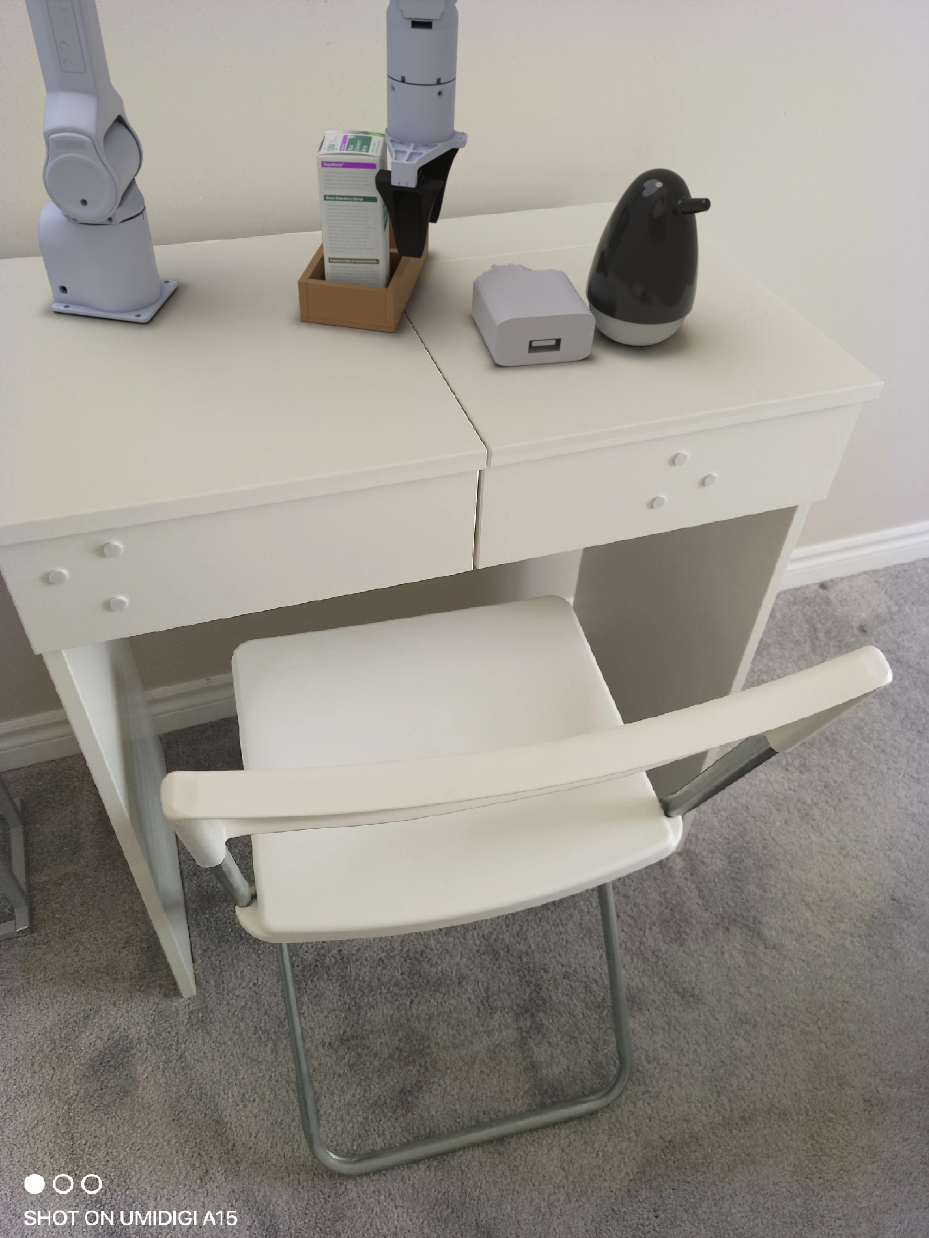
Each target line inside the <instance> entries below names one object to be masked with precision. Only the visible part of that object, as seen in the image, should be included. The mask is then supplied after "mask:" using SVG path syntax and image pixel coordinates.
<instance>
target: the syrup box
mask: <svg viewBox="0 0 929 1238" xmlns="http://www.w3.org/2000/svg"><path fill="white" fill-rule="evenodd" d="M315 158H316V168H317V181H318V199H319V211H320V214H319V215H320V225H321V226H320V227H321V238H322V239H321V240H322V242H323V254H324V267H325V281H332V282H340V283H348V284H356V285H364V286H373V287H381V288H388V286H389V284H390V248H389V214H388V211H387V208H386V206H385V203H384V201H383V199H382V197H381V196H380V194H379V192H378V191H377V189H376V185H375V176H376V174H377V172H378V171H379V169H383V170H388V147H387V144H386V142H385V133H381V132H376V131H368V130H351V129H349V130H348V129H346V130H344V129H343V130H325V131H324V134H323V138H322V140H321V142H320V144H319V146H318V150H317V152H316V156H315Z"/></svg>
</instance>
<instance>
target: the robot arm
mask: <svg viewBox="0 0 929 1238" xmlns="http://www.w3.org/2000/svg"><path fill="white" fill-rule="evenodd" d="M24 3H25V6H26V11H27V16H28V19H29V24H30V29H31V33H32V36H33V42H34V45H35V50H36V53H37V57H38V62H39V66H40V70H41V74H42V78H43V79H42V80H43V83H44V87H45V92H46V97H45V105H44V112H43V113H44V114H43V122H42V136H43V140H44V142H45V159H44V162H43V165H42V175H41V176H42V182H43V183H42V184H43V186H44V189H45V191H46V194H47V195H48V197H49V199H50V200H48V201H46V203H45V204H44V205H43V207H42V208H41V210H40V211H39V215H38V221H37V241H38V245H39V250H40V253H41V256H42V259H43V264H44V268H45V271H46V275H47V279H48V282H49V287H50V289H51V293H52V297H53V301H54V302H52V304H51V306H50V307H51V310H52V311H53V312H57V313H65V314H74V315H81V316H87V317H88V316H89V317H96V318H104V319H105V318H106V319H112V320H120V321H128V322H134V323H135V322H137V323H143V324H145V323H148V322H149V321H151V319H152V318H153V317H154V315H156V313H157V312H158V310H159V309H160V308H161V307H162V306H163V304H164V303H165V302H166V301H167V300H168V299H169V297H170V296H171V295H172V294H173V292H174V291H175V290H176V288H177V287H178V282H177V281H176V280H172V279H166V278H165V279H164V278H160V277H159V271H158V266H157V260H156V254H155V250H154V249H155V248H154V244H153V239H152V234H151V233H152V232H151V228H150V223H149V218H148V212H147V207H146V201H145V197H144V195H143V193H142V192H141V190H140V188H139V187H138V184H137V179H136V177H137V176H138V175H139V173H140V171H141V170H142V167H143V164H144V163H143V162H144V149H143V146H142V142H141V140H140V137H139V136H138V134H137V132H136V131H135V129H134V128H133V127H132V125H131V123H130V122H129V120H128V117H127V114H126V110H125V106H124V105H125V104H124V100H123V98H122V96H121V95H120V93H119V92H118V91H117V90H116V88H115V87H114V85H113V84H112V81H111V76H110V71H109V65H108V60H107V56H106V51H105V46H104V45H105V44H104V39H103V35H102V29H101V25H100V19H99V13H98V8H97V3H96V0H24ZM457 3H458V0H389V4H388V6H387V8H386V12H385V14H386V16H385V17H386V20H385V21H386V25H385V26H386V27H385V28H386V29H385V30H386V32H385V33H386V127H385V128H384V134H385V142H386V144H387V151H388V153H389V155H390V158H391V160H390V169H387V170H383V169H379V171H378V172H377V174H376V176H375V185H376V189H377V191H378V192H379V194H380V196H381V197H382V199H383V201H384V203H385V206H386V208H387V211H388V214H389V217H390V220H391V224H392V229H393V233H394V238H395V243H396V247H397V251H398V254H399V256H404V257H413V258H421V257H422V254H423V251H424V248H425V244H426V239H427V233H428V226H429V227H430V224H437V223H438V220H439V218H440V215H441V211H442V207H443V203H444V202H443V201H444V196H445V192H446V187H447V184H448V183H447V182H448V178H449V176H450V175H449V174H450V171H451V168H452V166H453V163H454V160H455V158H456V157H457V154H458V152H459V151H460V149H464V148H465V147H467V144H468V137H469V135H468V133H466V132H464V131H457V130H456V129H455V114H456V113H455V112H456V89H457V87H456V85H457V84H456V82H457V64H458V43H459V42H458V40H459V39H458V38H459V15H460V14H459V10H458V8H457V6H456V4H457Z"/></svg>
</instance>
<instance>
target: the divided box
mask: <svg viewBox="0 0 929 1238" xmlns="http://www.w3.org/2000/svg"><path fill="white" fill-rule="evenodd" d="M429 236H430V225H429V226H428V233H427V239H426V244H425V248H424V251H423V254H422V257H421V258H413V257H404V256H399V254H398V251H397V247H396V243H395V238H394V233H393V229H392V224H391V220H390V217H389V248H390V284H389V286H388V288H381V287H373V286H364V285H356V284H348V283H340V282H332V281H325V267H324V254H323V241H322V242H321V244H320V245H319V247H318V248H317V250H316V252H315V253H314V255H313V256H312V258H311V259H310V261H309V263H308V264H307V265H306V268H305V269H304V270H303V272H302V274H301V276H300V277H299V279H298V280H297V290H298V291H297V292H298V302H299V313H300V314H299V315H300V321H301V322H306V323H307V322H308V323H313V324H320V325H321V324H322V325H330V326H336V327H337V326H338V327H345V328H346V327H347V328H353V329H361V330H370V331H375V332H376V331H377V332H385V333H391V334H392V333H393V334H394V333H395V332H396V329H397V328H398V324H399V322H400V320H401V318H402V316H403V313H404V311H405V308H406V306H407V304H408V301H409V299H410V298H411V295H412V292H413V291H414V288H415V286H416V283H417V281H418V279H419V276H420V275H421V272H422V270H423V267H424V264H425V263H426V260H427V258H428V256H429V245H430V243H429V242H430V241H429V239H430V237H429Z"/></svg>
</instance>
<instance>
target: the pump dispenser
mask: <svg viewBox="0 0 929 1238" xmlns="http://www.w3.org/2000/svg"><path fill="white" fill-rule="evenodd" d="M711 205H712V203H711V200H710V198H708V197H692V194H691V191H690V189H689V186H688V184H687V183H686V181H685V179H684V178H683V177H682V176H681V175H680V174H679V173H677V172H675V171H674V170H671V169H669V168H664V167H656V168H651V169H648V170H645V171H644V172H642V173H640V174H639V175H638V176H637V177H635V178H634V179H633V180H632V182H631V183H630V184H629V185H628V187H627V188H626V189H625V190H624V192H623V193H622V195H621V197H620V198H619V200H618V201H617V203H616V205H615V207H614V208H613V210H612V211H611V214H610V216H609V218H608V220H607V222H606V224H605V226H604V229H603V231H602V233H601V235H600V238H599V240H598V242H597V245H596V247H595V250H594V253H593V254H594V255H593V257H592V260H591V265H590V268H589V271H588V275H587V279H586V283H585V298H586V299H587V303H588V308H589V310H590V311H591V313H592V314H593V316H594V317H595V320H596V323H595V327H597V329H598V330H599V331H600V332H601V333H602V334H603V335H604V336H606V337H607V338H608V339H611V340H613V341H614V342H617V343H619V344H623V345H628V346H634V347H645V346H651V345H656V344H658V343H661V342H663V341H665V340H667V339H668V338H671V336H672V335H674V334H675V333H676V332H677V331H678V329H679V328H680V327H681V326H682V325H683V323H684V322H685V319H686V317H687V316H688V315H689V314H690V313H691V311H692V310H693V308H694V305H695V300H696V297H697V296H696V295H697V287H698V279H699V278H698V277H699V263H700V261H699V259H700V258H699V257H700V251H699V250H700V247H699V234H698V233H699V231H698V222H697V215H696V214H700V213H705V212H708V211H709V210H710V208H711V207H712V206H711Z"/></svg>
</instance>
